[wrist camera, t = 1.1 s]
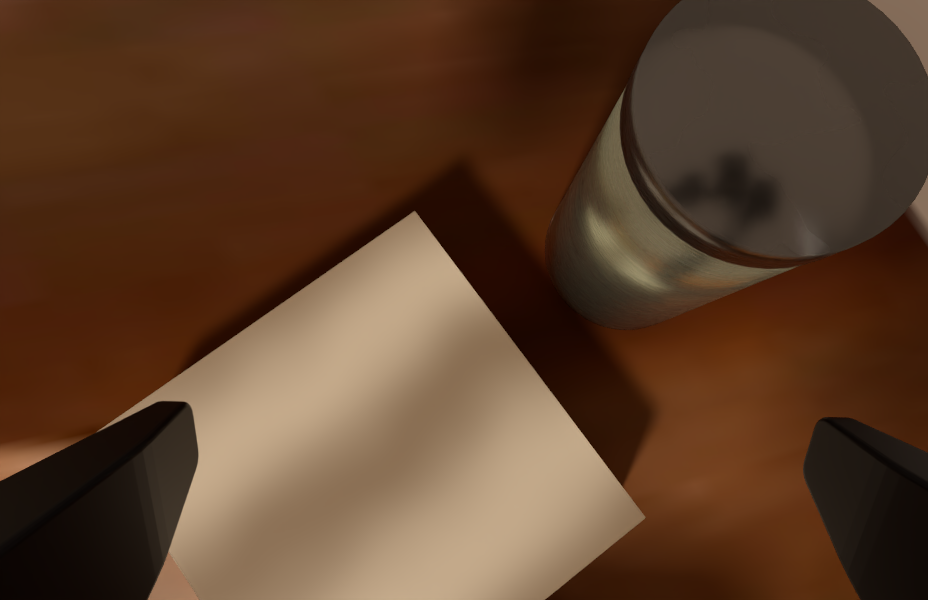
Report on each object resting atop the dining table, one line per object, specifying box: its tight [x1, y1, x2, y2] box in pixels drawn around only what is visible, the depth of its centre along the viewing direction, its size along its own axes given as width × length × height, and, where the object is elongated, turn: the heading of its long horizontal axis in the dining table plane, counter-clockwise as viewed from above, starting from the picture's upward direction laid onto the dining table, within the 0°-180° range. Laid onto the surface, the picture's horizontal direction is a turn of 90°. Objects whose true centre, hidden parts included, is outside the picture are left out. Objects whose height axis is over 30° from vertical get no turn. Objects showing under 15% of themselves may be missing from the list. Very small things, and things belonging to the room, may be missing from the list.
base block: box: [99, 211, 645, 600], centre depth 21 cm, size 12×12×4 cm
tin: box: [545, 0, 928, 330], centre depth 19 cm, size 6×6×12 cm
